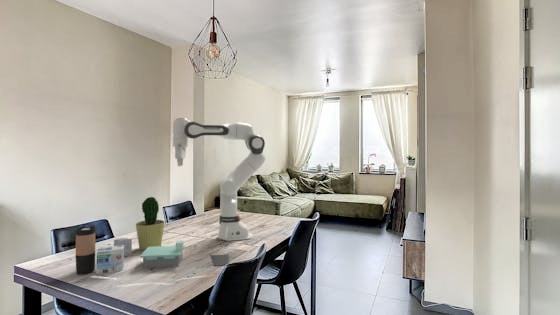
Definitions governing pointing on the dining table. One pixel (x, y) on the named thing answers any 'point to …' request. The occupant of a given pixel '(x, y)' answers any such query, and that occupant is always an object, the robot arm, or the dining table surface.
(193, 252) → the dining table surface
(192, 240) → the dining table surface
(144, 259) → the tub
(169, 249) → the lid
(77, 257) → the travel mug
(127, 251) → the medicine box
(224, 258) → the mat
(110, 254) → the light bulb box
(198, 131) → the robot arm
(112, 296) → the dining table surface
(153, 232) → the potted cactus
